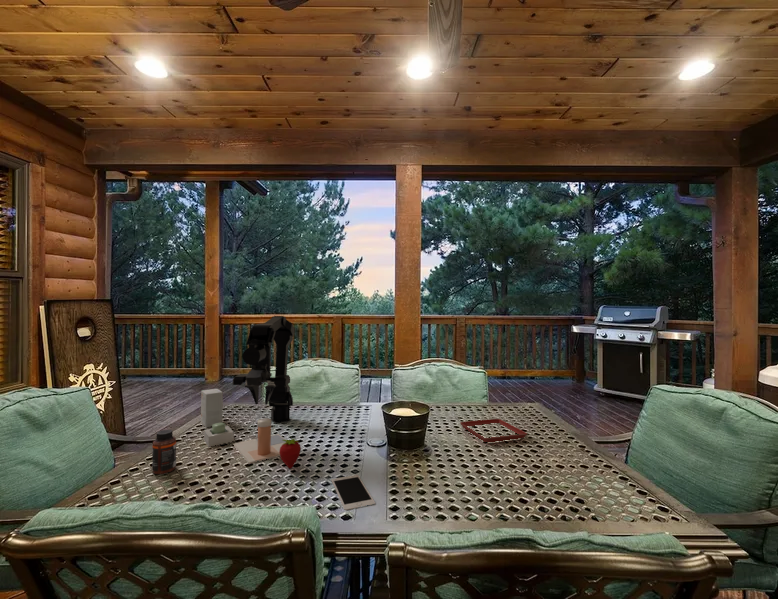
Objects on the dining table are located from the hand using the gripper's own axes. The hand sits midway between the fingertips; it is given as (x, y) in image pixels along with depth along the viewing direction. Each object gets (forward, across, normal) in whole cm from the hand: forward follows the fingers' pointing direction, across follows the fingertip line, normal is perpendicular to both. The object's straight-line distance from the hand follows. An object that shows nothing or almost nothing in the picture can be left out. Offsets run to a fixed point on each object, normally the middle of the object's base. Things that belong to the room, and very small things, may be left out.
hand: (261, 404), depth 130 cm
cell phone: (+14, +37, -32) cm, 51 cm away
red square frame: (+14, +84, +12) cm, 86 cm away
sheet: (+13, +4, -6) cm, 15 cm away
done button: (+11, -15, -1) cm, 19 cm away
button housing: (+13, -15, -1) cm, 20 cm away
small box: (+13, -27, +17) cm, 34 cm away
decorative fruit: (+13, +17, -20) cm, 29 cm away
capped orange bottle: (+12, +5, -11) cm, 17 cm away
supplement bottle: (+13, -19, -24) cm, 33 cm away
